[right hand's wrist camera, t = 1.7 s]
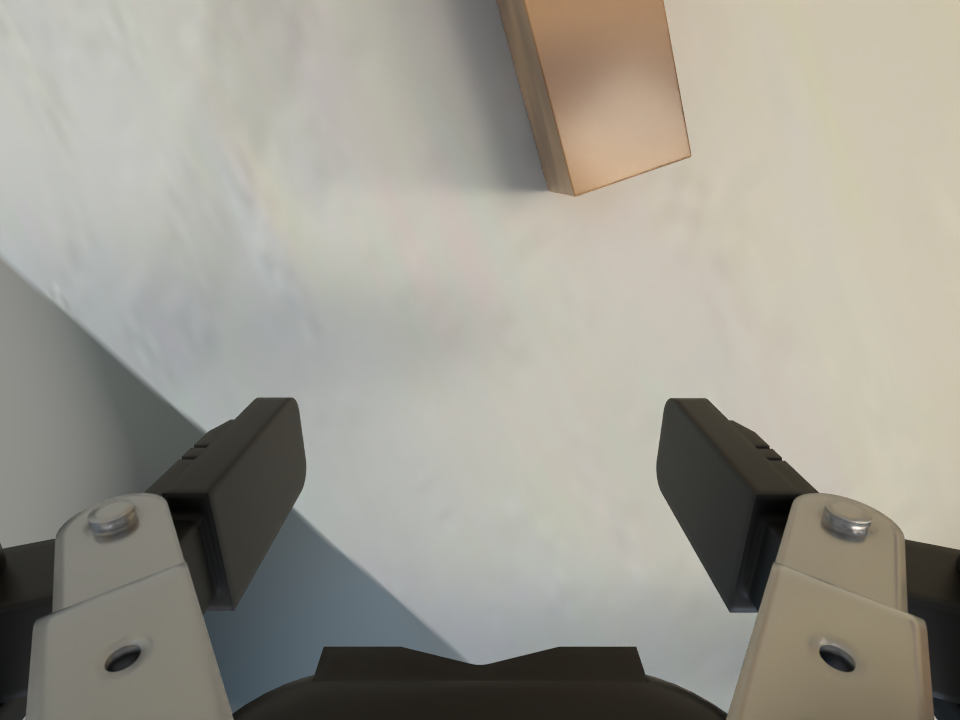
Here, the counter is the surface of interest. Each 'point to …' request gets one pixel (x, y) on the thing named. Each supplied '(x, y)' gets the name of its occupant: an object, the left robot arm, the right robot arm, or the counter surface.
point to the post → (597, 88)
